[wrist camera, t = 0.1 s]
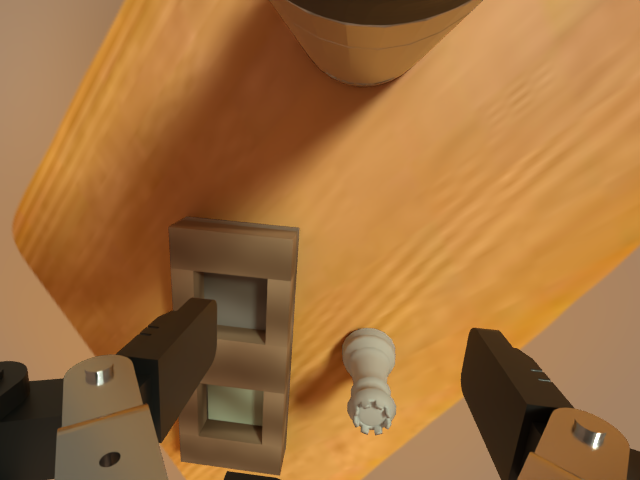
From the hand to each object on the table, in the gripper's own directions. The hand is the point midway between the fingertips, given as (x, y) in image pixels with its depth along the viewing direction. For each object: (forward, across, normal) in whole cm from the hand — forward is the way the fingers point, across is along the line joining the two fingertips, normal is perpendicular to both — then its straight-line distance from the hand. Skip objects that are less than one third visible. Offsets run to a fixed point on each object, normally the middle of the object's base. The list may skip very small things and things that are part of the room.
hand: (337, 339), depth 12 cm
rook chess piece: (+18, -3, +10) cm, 21 cm away
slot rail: (+18, +8, +11) cm, 23 cm away
